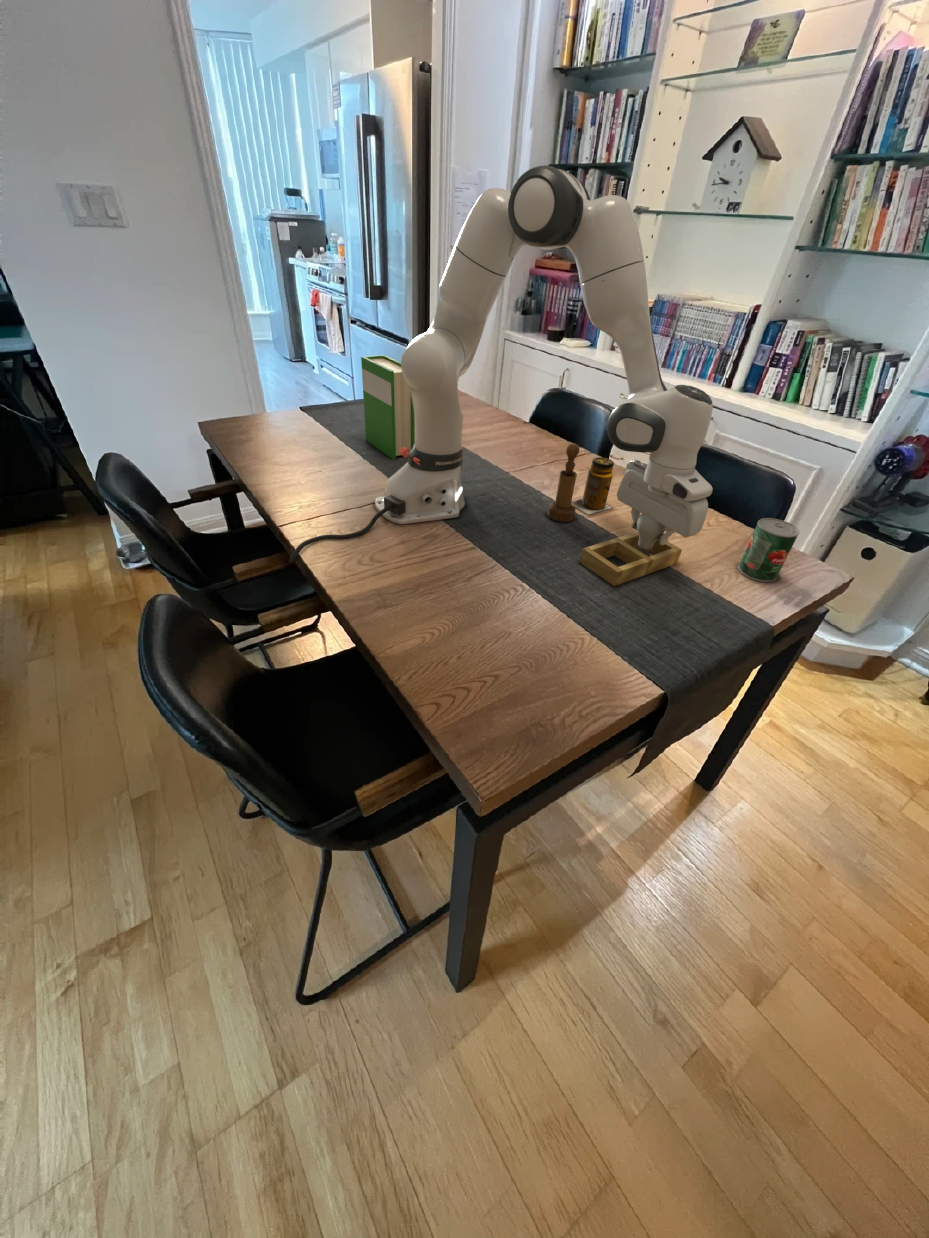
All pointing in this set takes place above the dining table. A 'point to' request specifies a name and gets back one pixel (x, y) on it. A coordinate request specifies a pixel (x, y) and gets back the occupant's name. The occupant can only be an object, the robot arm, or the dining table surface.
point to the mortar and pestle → (565, 489)
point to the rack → (627, 558)
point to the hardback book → (387, 405)
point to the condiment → (596, 487)
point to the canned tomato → (768, 549)
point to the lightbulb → (648, 532)
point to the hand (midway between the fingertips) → (648, 536)
